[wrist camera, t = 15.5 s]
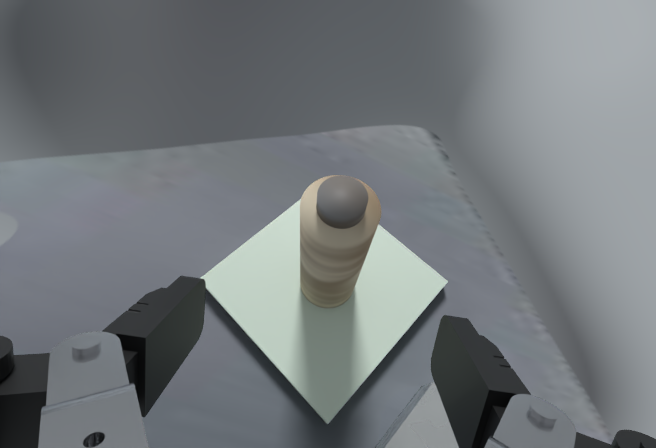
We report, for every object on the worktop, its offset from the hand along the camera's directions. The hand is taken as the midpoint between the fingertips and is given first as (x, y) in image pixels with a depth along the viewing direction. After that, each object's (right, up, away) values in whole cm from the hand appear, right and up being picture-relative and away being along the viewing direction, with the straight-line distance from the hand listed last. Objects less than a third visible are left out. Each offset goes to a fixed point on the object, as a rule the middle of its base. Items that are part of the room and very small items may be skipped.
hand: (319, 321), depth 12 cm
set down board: (0, -1, +15) cm, 15 cm away
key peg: (0, -1, +14) cm, 14 cm away
